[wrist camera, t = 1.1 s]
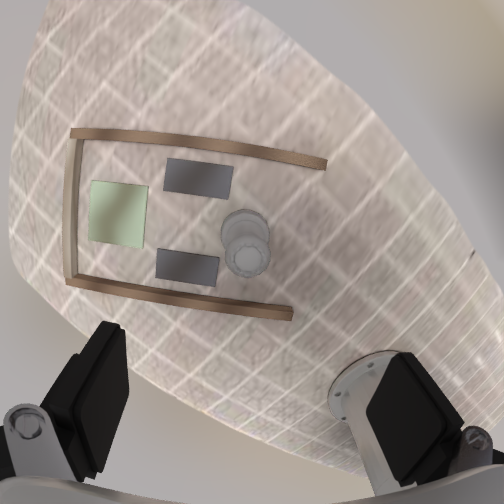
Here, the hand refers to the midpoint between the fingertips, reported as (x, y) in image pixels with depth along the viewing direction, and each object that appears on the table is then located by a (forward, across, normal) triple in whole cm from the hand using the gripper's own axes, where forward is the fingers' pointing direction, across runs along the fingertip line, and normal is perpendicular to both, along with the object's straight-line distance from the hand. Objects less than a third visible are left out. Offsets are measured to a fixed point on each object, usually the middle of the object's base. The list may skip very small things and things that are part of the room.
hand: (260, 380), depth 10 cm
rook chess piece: (+20, 0, 0) cm, 20 cm away
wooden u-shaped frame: (+20, +6, 0) cm, 21 cm away
